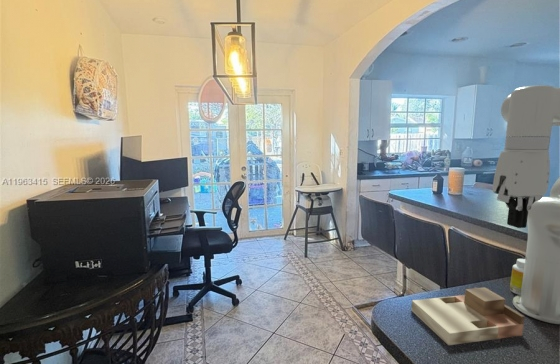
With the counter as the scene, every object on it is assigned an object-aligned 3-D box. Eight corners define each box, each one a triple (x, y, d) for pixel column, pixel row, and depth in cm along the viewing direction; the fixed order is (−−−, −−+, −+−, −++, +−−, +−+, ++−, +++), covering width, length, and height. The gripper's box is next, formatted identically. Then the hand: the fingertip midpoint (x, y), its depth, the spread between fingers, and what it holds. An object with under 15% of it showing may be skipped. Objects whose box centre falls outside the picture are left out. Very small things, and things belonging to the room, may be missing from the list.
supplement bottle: (529, 299, 87) (533, 266, 85) (506, 291, 91) (510, 260, 90) (535, 294, 90) (540, 262, 88) (513, 286, 94) (517, 256, 93)
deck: (474, 303, 84) (476, 287, 84) (522, 335, 71) (524, 316, 70) (411, 310, 81) (412, 293, 80) (448, 345, 67) (450, 325, 67)
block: (483, 301, 80) (484, 287, 80) (503, 313, 74) (505, 299, 74) (464, 303, 79) (465, 289, 79) (483, 316, 73) (484, 301, 73)
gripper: (537, 144, 69) (527, 220, 72) (482, 144, 67) (474, 223, 70) (573, 145, 62) (561, 229, 65) (513, 145, 60) (503, 233, 62)
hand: (516, 226), depth 67 cm, fingers closed
